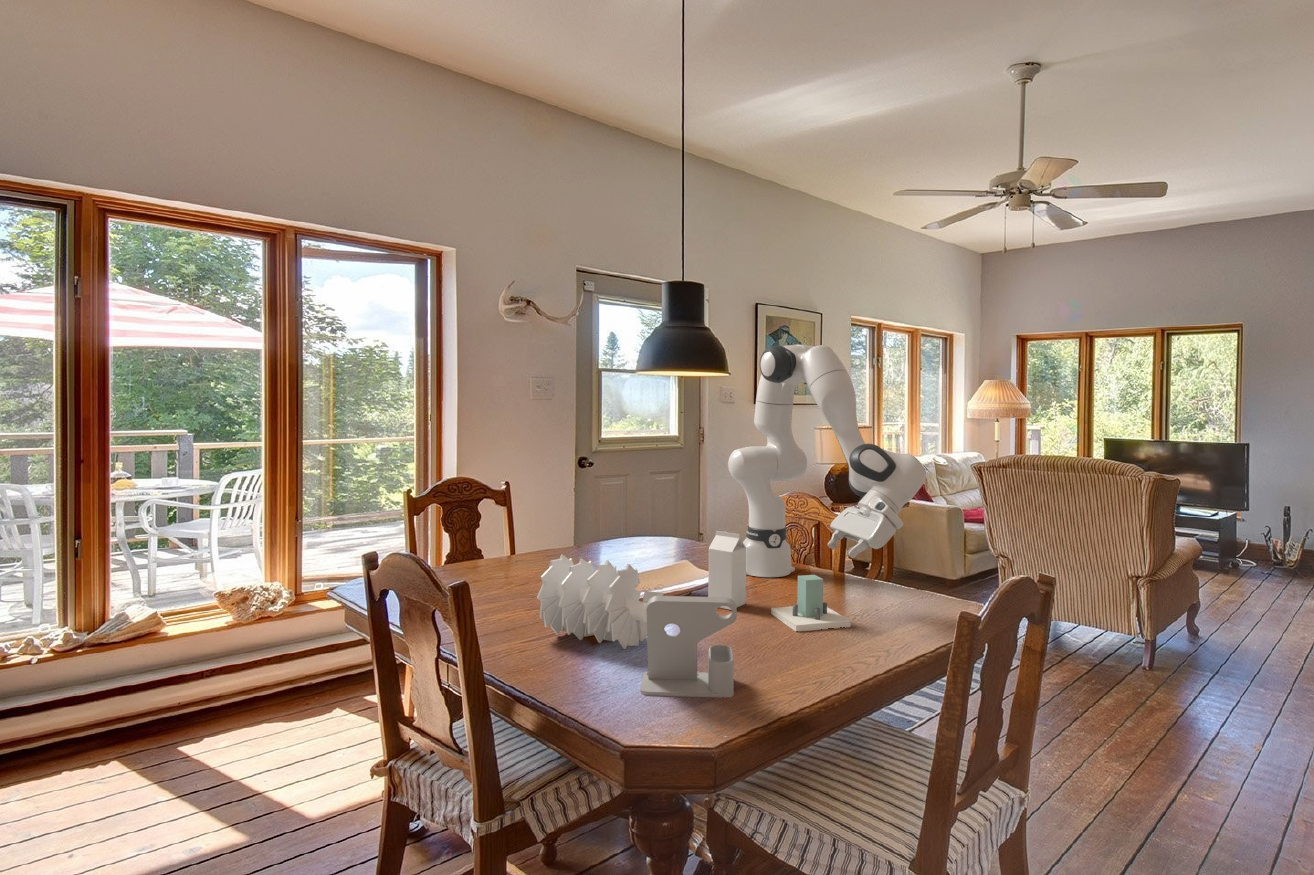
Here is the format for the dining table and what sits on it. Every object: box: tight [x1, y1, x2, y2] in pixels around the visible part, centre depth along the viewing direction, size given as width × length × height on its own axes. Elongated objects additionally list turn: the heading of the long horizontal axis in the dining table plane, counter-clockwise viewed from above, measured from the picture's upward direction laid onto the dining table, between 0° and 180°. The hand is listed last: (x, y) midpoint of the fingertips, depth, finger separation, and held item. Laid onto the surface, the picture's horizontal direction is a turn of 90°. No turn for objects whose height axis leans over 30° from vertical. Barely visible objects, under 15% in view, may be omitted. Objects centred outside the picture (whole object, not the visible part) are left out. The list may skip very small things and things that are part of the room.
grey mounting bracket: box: [639, 595, 738, 699], centre depth 136 cm, size 17×10×18 cm, turn 87°
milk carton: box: [707, 530, 747, 611], centre depth 188 cm, size 7×7×19 cm
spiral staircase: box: [536, 553, 664, 650], centre depth 161 cm, size 18×18×25 cm
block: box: [796, 574, 824, 618], centre depth 176 cm, size 4×4×9 cm
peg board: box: [770, 601, 852, 632], centre depth 176 cm, size 14×14×4 cm
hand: (839, 551), depth 177 cm, fingers open, 8 cm apart
